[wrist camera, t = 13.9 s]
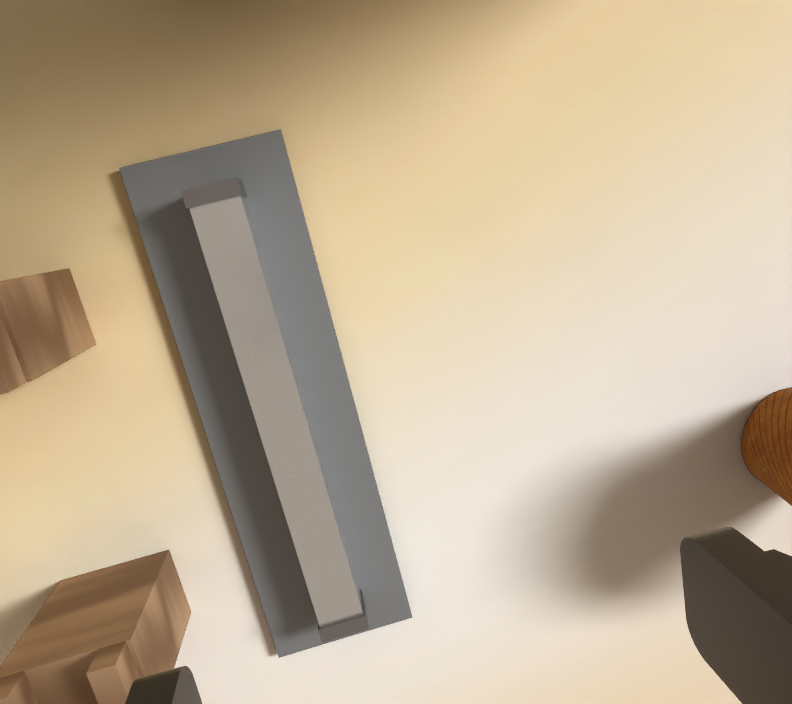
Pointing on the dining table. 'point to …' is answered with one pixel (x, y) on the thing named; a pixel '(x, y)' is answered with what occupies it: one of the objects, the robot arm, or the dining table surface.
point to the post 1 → (39, 326)
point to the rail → (277, 403)
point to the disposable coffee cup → (771, 443)
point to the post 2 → (99, 635)
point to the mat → (224, 388)
